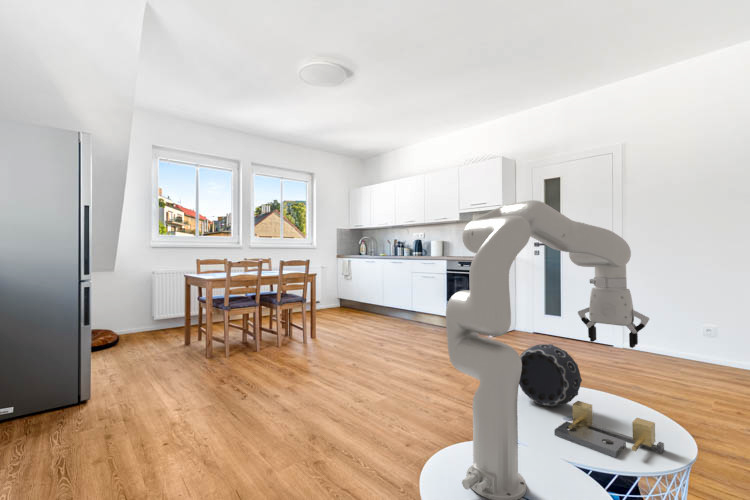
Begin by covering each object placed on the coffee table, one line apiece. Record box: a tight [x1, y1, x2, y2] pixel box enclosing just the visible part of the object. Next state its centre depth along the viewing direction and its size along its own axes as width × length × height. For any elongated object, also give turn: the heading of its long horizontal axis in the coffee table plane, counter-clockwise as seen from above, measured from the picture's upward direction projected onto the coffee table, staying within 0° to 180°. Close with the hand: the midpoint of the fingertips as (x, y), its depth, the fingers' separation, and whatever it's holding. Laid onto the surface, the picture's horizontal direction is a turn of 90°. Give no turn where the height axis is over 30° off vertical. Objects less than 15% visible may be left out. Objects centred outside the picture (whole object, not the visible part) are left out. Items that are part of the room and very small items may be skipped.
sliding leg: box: [631, 417, 656, 453], centre depth 93 cm, size 11×4×5 cm, turn 130°
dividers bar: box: [569, 400, 665, 455], centre depth 98 cm, size 11×21×6 cm, turn 40°
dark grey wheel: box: [519, 343, 583, 408], centre depth 122 cm, size 11×20×20 cm, turn 37°
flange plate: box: [553, 421, 627, 459], centre depth 98 cm, size 8×15×2 cm, turn 40°
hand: (612, 343), depth 102 cm, fingers open, 9 cm apart
